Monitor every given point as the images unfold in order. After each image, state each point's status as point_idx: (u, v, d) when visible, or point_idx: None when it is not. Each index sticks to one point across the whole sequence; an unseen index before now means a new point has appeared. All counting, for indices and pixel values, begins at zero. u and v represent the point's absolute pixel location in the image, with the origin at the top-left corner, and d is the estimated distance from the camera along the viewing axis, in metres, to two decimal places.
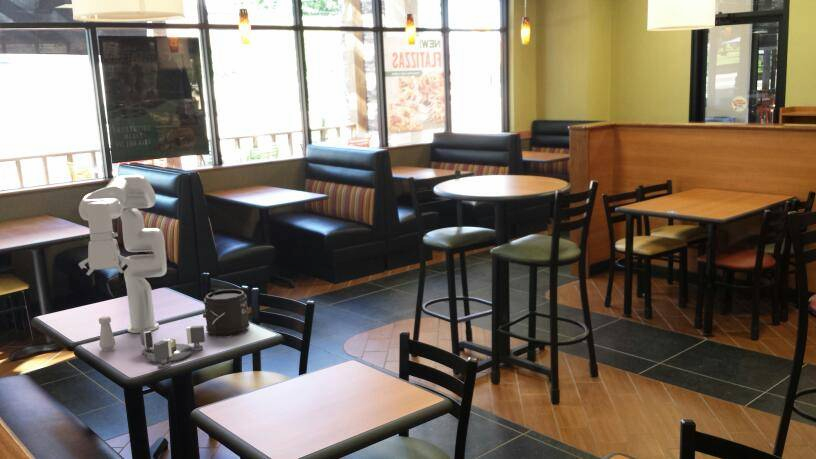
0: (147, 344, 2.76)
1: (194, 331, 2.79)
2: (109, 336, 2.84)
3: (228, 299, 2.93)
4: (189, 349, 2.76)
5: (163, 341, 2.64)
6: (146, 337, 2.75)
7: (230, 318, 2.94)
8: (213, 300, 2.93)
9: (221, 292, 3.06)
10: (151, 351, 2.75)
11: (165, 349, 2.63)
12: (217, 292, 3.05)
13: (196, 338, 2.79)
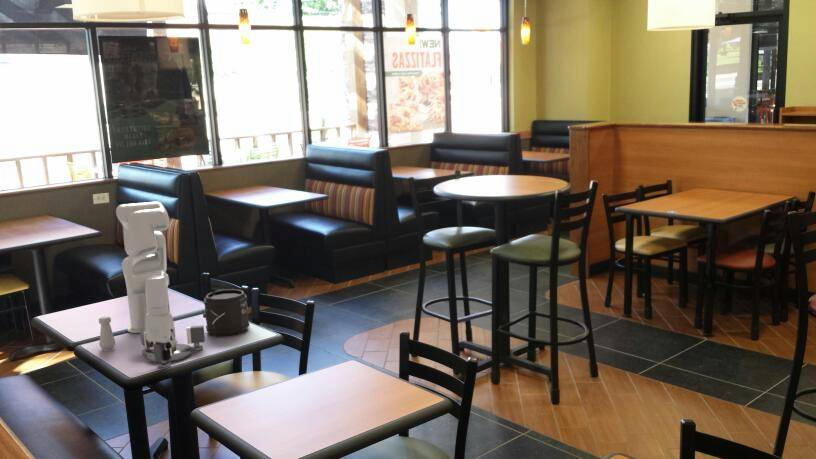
0: (147, 344, 2.76)
1: (194, 331, 2.79)
2: (109, 336, 2.84)
3: (228, 299, 2.93)
4: (189, 349, 2.76)
5: None
6: None
7: (231, 318, 2.94)
8: (213, 300, 2.93)
9: (221, 292, 3.06)
10: (151, 351, 2.75)
11: None
12: (217, 292, 3.05)
13: (196, 338, 2.79)
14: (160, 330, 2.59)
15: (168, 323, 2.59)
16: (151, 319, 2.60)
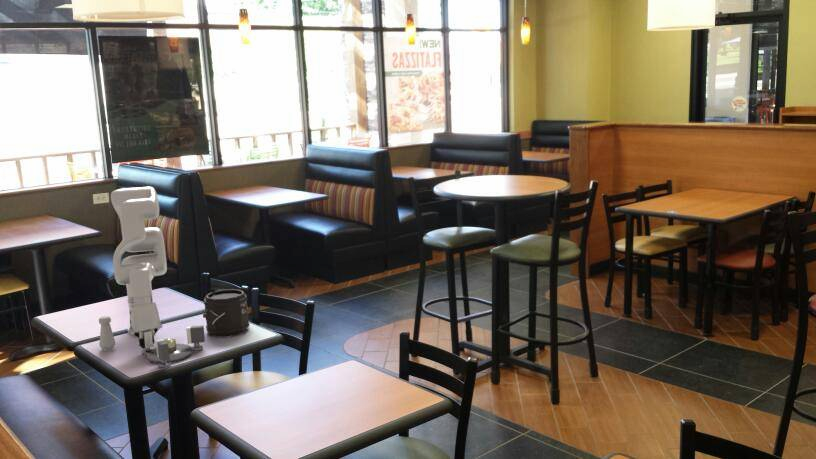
0: (147, 344, 2.76)
1: (194, 331, 2.79)
2: (109, 336, 2.84)
3: (228, 299, 2.93)
4: (189, 349, 2.76)
5: (161, 341, 2.64)
6: (146, 337, 2.75)
7: (231, 318, 2.94)
8: (213, 300, 2.93)
9: (221, 292, 3.06)
10: (151, 351, 2.75)
11: None
12: (217, 292, 3.05)
13: (196, 338, 2.79)
14: (153, 316, 2.76)
15: None
16: (142, 309, 2.73)
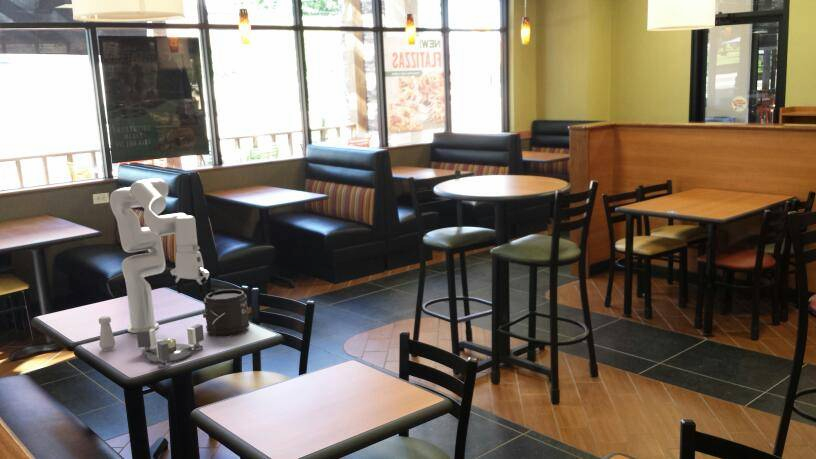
0: (154, 342, 2.78)
1: (197, 331, 2.79)
2: (109, 336, 2.84)
3: (228, 299, 2.93)
4: (189, 349, 2.76)
5: (161, 341, 2.64)
6: (153, 335, 2.77)
7: (231, 318, 2.94)
8: (213, 300, 2.93)
9: (221, 292, 3.06)
10: (151, 351, 2.75)
11: None
12: (217, 292, 3.05)
13: (199, 337, 2.81)
14: None
15: None
16: None
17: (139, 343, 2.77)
